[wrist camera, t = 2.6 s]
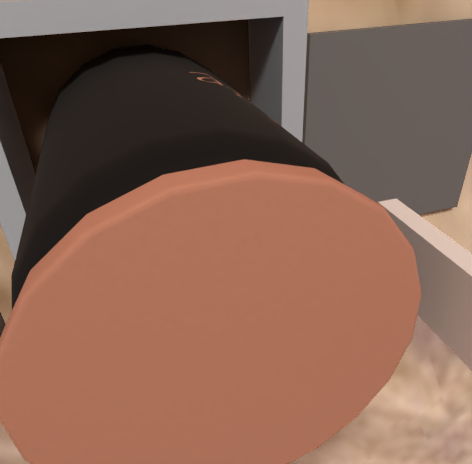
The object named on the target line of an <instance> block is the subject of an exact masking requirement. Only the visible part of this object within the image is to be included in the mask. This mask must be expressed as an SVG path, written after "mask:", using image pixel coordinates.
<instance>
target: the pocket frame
mask: <svg viewBox="0 0 472 464" xmlns="http://www.w3.org/2000/svg"><path fill="white" fill-rule="evenodd" d="M308 5H309V0H0V38H11V37H23V36H36V35H49V34H62V33H75V32H88V31H101V30H114V29H127V28H140V27H153V26H166V25H179V24H192V23H204V22H217V21H230V20H243V19H249V63H250V102H251V103H252V104H253V105H255V106H256V107H257V108H259V109H260V110H261V111H262V112H264V113H265V114H266V115H268V116H269V117H270V118H271V119H273V120H274V121H275V122H276V123H278V124H279V125H280V126H282V127H283V128H284V129H285V130H287V131H288V132H289V133H291V134H292V135H293V136H294V137H296V138H297V139H298V140H300V141H301V142H302V136H303V114H304V92H305V70H306V48H307V26H308ZM35 175H36V173H35V170H34V167H33V164H32V161H31V158H30V154H29V151H28V148H27V145H26V142H25V139H24V135H23V132H22V129H21V126H20V123H19V120H18V117H17V113H16V110H15V107H14V104H13V101H12V98H11V94H10V91H9V88H8V85H7V82H6V79H5V75H4V72H3V69H2V66H1V63H0V224H1V227H2V229H3V232H4V234H5V237H6V239H7V242H8V244H9V247H10V250H11V252H12V255H13V257H14V260H16V255H17V251H18V247H19V243H20V238H21V234H22V230H23V226H24V221H25V217H26V213H27V209H28V204H29V200H30V196H31V192H32V187H33V183H34V179H35Z"/></svg>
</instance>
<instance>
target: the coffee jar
mask: <svg viewBox="0 0 472 464" xmlns="http://www.w3.org/2000/svg"><path fill="white" fill-rule="evenodd" d="M421 295H422V294H421V288H420V282H419V276H418V270H417V264H416V258H415V253H414V249H413V247H412V245H411V244H410V243H409V241H408V240H407V239H406V237H405V236H404V234H403V233H402V232H401V230H400V229H399V228H398V226H397V225H396V223H395V222H394V221H393V219H392V218H391V216H390V215H389V214H388V212H387V211H386V210H385V208H384V207H383V206H381V205H380V204H378V203H377V202H375V201H373V200H372V199H370V198H368V197H367V196H365V195H363V194H361V193H359V192H358V191H356V190H354V189H352V188H350V187H348V186H346V185H345V184H344V183H343V181H342V180H341V179H340V177H339V176H338V175H337V174H336V172H335V171H334V170H333V168H332V167H331V166H330V165H329V163H328V162H327V161H325V160H324V159H323V158H321V157H320V156H319V155H318V154H316V153H315V152H314V151H312V150H311V149H310V148H309V147H307V146H306V145H305V144H303V143H302V142H301V141H300V140H298V139H297V138H296V137H294V136H293V135H292V134H291V133H289V132H288V131H287V130H285V129H284V128H283V127H282V126H280V125H279V124H278V123H276V122H275V121H274V120H273V119H271V118H270V117H269V116H268V115H266V114H265V113H264V112H262V111H261V110H260V109H259V108H257V107H256V106H255V105H253V104H252V103H251V102H250V101H248V100H247V99H246V98H244V97H243V96H242V95H241V94H239V93H238V92H237V91H235V90H234V89H233V88H232V87H230V86H229V85H228V84H226V83H225V82H224V81H223V80H221V79H220V78H219V77H217V76H216V75H215V74H214V73H212V72H211V71H210V70H208V69H207V68H206V67H204V66H202V65H201V64H199V63H197V62H196V61H194V60H192V59H191V58H189V57H187V56H186V55H184V54H182V53H181V52H178V51H173V50H169V49H164V48H159V47H155V46H150V45H142V46H134V47H126V48H118V49H113V50H111V51H109V52H107V53H105V54H103V55H101V56H99V57H97V58H95V59H93V60H91V61H89V62H87V63H85V64H83V65H82V66H81V67H80V69H79V70H78V71H77V72H76V73H75V74H74V75H73V76H72V77H71V78H70V79H69V80H68V81H67V82H66V84H65V85H64V86H63V87H62V88H61V90H60V92H59V94H58V97H57V99H56V102H55V104H54V107H53V109H52V112H51V114H50V116H49V119H48V124H47V128H46V132H45V136H44V141H43V145H42V149H41V153H40V158H39V162H38V166H37V170H36V175H35V179H34V183H33V187H32V192H31V196H30V200H29V204H28V209H27V213H26V217H25V221H24V226H23V230H22V234H21V238H20V243H19V247H18V251H17V255H16V260H15V264H14V268H13V272H12V312H11V314H10V316H9V318H8V321H7V323H6V325H5V327H4V329H3V332H2V334H1V337H0V421H1V423H2V425H3V426H4V428H5V429H6V431H7V433H8V434H9V436H10V437H11V439H12V441H13V442H14V444H15V446H16V447H17V449H18V450H19V452H20V454H21V455H22V457H23V459H24V460H26V461H27V462H29V463H31V464H288V463H290V462H292V461H294V460H296V459H297V458H299V457H301V456H303V455H305V454H307V453H308V452H310V451H312V450H314V449H316V448H317V447H319V446H320V445H321V444H323V443H324V442H325V441H326V440H328V439H329V438H330V437H331V436H333V435H334V434H335V433H337V432H338V431H339V430H340V429H342V428H343V427H344V426H346V425H347V424H348V423H349V422H351V421H352V420H353V419H354V418H356V417H357V416H358V415H359V414H360V413H361V411H362V410H363V409H364V408H365V407H366V406H367V405H368V404H369V402H370V401H371V400H372V399H373V398H374V397H375V396H376V394H377V393H378V392H379V391H380V390H381V389H382V388H383V387H384V385H385V384H386V383H387V382H388V381H389V380H390V378H391V376H392V374H393V372H394V371H395V369H396V367H397V365H398V363H399V361H400V360H401V358H402V356H403V354H404V352H405V351H406V349H407V347H408V345H409V343H410V341H411V340H412V336H413V332H414V327H415V323H416V318H417V313H418V309H419V304H420V300H421Z"/></svg>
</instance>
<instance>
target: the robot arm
mask: <svg viewBox="0 0 472 464" xmlns="http://www.w3.org/2000/svg"><path fill="white" fill-rule="evenodd" d="M378 204H380V205H381V206H383V207H384V208H385V210H386V211H387V212H388V214H389V215H390V216H391V218H392V219H393V221H394V222H395V223H396V225H397V226H398V228H399V229H400V230H401V232H402V233H403V234H404V236H405V237H406V239H407V240H408V241H409V243H410V244H411V245H412V247H413V249H414V253H415V258H416V264H417V270H418V276H419V282H420V288H421V294H422V295H421V300H420V304H419V309H418V313H417V314H418V315H419V317H420V318H421V319H422V320H423V321H424V322H425V323H426V324H427V325H428V326H429V327H430V328H431V329H432V330H433V331H434V332H435V333H436V334H437V335H438V336H439V337H440V338H441V339H442V340H443V341H444V343H445V344H446V345H447V346H448V347H449V348H450V349H451V350H452V351H453V352H454V353H455V354H456V355H457V356H458V357H459V358H460V359H461V360H462V361H463V362H464V363H465V364H466V365H467V366H468V367H469V368H470V370H471V371H472V253H470V252H469V251H467V250H466V249H465V248H463V247H462V246H461V245H459V244H458V243H457V242H455V241H454V240H452V239H451V238H450V237H448V236H447V235H446V234H444V233H443V232H442V231H440V230H439V229H437V228H436V227H435V226H433V225H432V224H431V223H429V222H428V221H426V220H425V219H424V218H422V217H421V216H420V215H418V214H417V213H416V212H414V211H413V210H411V209H410V208H409V207H407V206H406V205H405V204H403V203H402V202H401V201H399V200H398V199H391V200H385V201H380V202H378ZM5 325H6V324H5V322H4V320H3V317H2V315H1V313H0V337H1V334H2V332H3V329H4V327H5Z"/></svg>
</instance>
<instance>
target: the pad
mask: <svg viewBox="0 0 472 464" xmlns="http://www.w3.org/2000/svg"><path fill="white" fill-rule="evenodd" d="M302 143H303V144H305V145H306V146H307V147H309V148H310V149H311V150H312V151H314V152H315V153H316V154H318V155H319V156H320V157H321V158H323V159H324V160H325V161H327V162H328V163H329V165H330V166H331V167H332V168H333V170H334V171H335V172H336V174H337V175H338V176H339V177H340V179H341V180H342V181H343V183H344V184H345V185H346V186H348V187H350V188H352V189H354V190H356V191H358V192H359V193H361V194H363V195H365V196H367V197H368V198H370V199H372V200H373V201H375V202H377V203H378V202H380V201H385V200H391V199H398V200H399V201H401V202H402V203H403V204H405V205H406V206H407V207H409V208H410V209H411V210H413V211H414V212H416V213H417V214H418V215H420V214H425V213H429V212H434V211H439V210H444V209H449V208H453V207H457V205H458V201H459V197H460V193H461V190H462V186H463V182H464V179H465V175H466V171H467V168H468V164H469V160H470V157H471V153H472V19H464V20H452V21H441V22H430V23H418V24H407V25H396V26H385V27H373V28H362V29H351V30H339V31H328V32H317V33H307V48H306V70H305V92H304V114H303V136H302Z"/></svg>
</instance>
